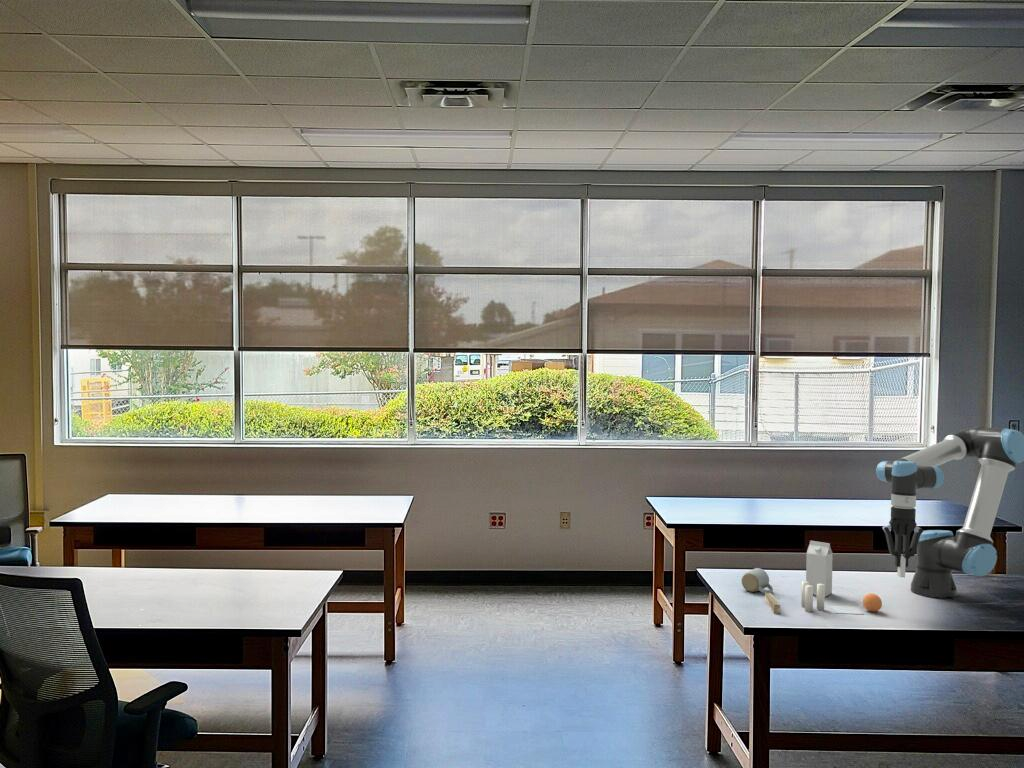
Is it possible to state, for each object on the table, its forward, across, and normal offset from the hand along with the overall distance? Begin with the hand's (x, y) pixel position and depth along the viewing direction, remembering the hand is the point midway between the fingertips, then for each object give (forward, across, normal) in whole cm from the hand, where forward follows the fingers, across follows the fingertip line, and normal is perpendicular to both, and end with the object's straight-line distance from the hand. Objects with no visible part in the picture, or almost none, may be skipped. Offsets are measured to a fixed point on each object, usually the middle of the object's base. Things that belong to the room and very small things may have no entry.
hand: (901, 576), depth 268 cm
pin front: (+13, -26, 0) cm, 29 cm away
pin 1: (+13, -31, +3) cm, 33 cm away
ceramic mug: (+13, -43, +21) cm, 49 cm away
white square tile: (+13, -18, 0) cm, 22 cm away
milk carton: (+13, -21, +20) cm, 32 cm away
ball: (+10, -9, 0) cm, 13 cm away
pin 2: (+13, -30, -2) cm, 33 cm away
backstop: (+13, -42, 0) cm, 44 cm away
